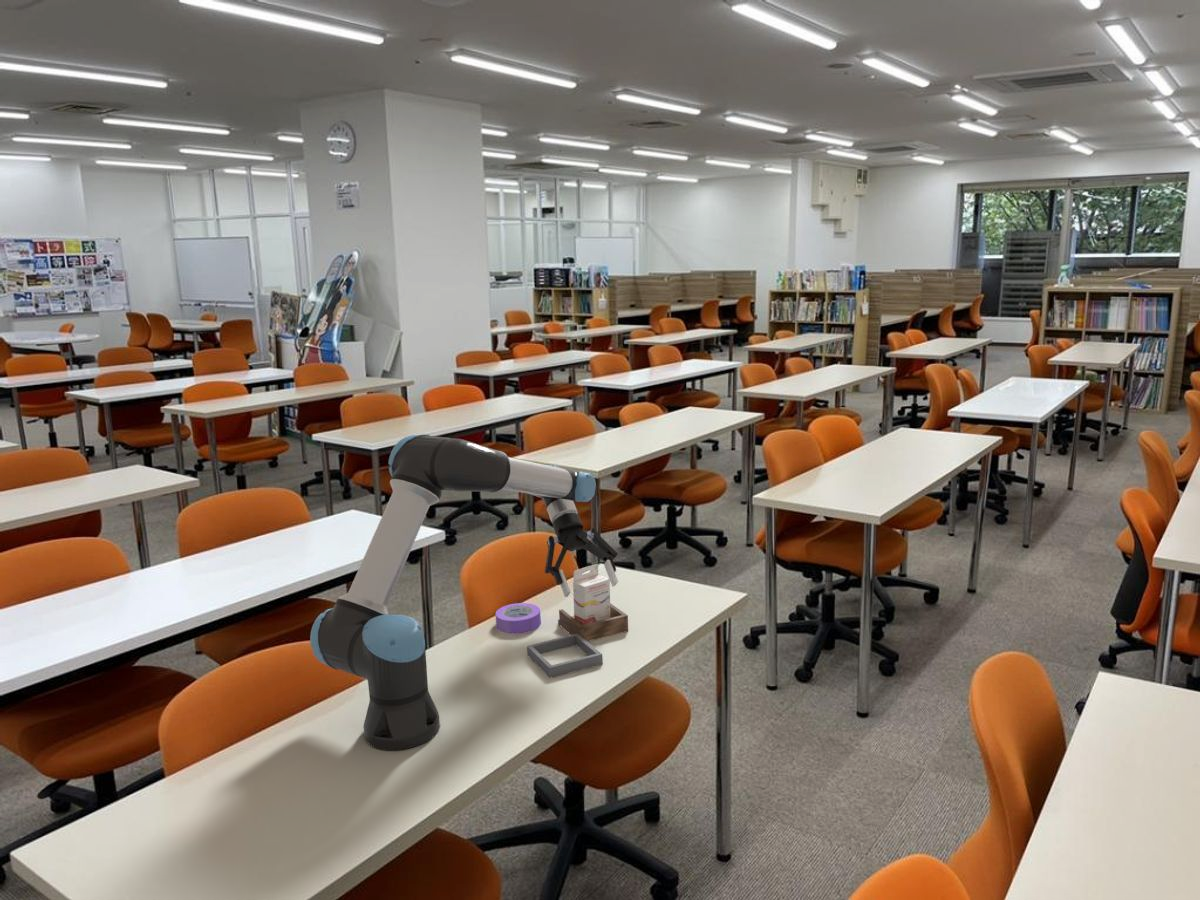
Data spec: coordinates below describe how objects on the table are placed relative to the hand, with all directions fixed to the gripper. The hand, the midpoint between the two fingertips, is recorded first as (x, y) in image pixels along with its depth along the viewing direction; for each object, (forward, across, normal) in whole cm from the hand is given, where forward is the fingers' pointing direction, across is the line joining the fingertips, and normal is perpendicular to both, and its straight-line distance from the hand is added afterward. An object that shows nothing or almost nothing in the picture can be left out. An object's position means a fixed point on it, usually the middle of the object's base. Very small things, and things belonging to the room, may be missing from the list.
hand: (591, 589), depth 222 cm
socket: (+17, +14, +3) cm, 22 cm away
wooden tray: (+8, 0, -7) cm, 10 cm away
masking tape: (-1, +16, -16) cm, 23 cm away
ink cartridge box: (+7, 0, -6) cm, 9 cm away
